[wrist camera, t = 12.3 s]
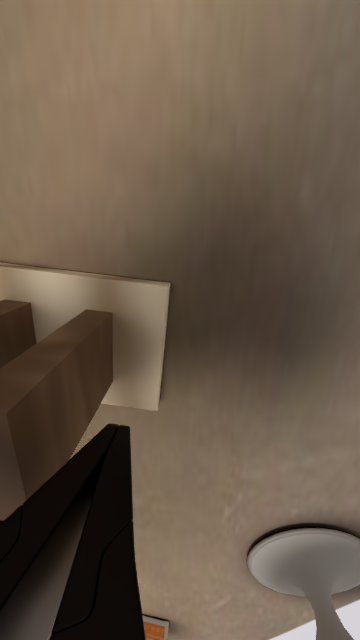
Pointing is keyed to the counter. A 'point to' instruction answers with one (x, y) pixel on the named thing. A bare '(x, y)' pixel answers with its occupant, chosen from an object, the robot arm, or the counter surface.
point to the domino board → (109, 296)
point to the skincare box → (155, 628)
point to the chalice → (310, 570)
